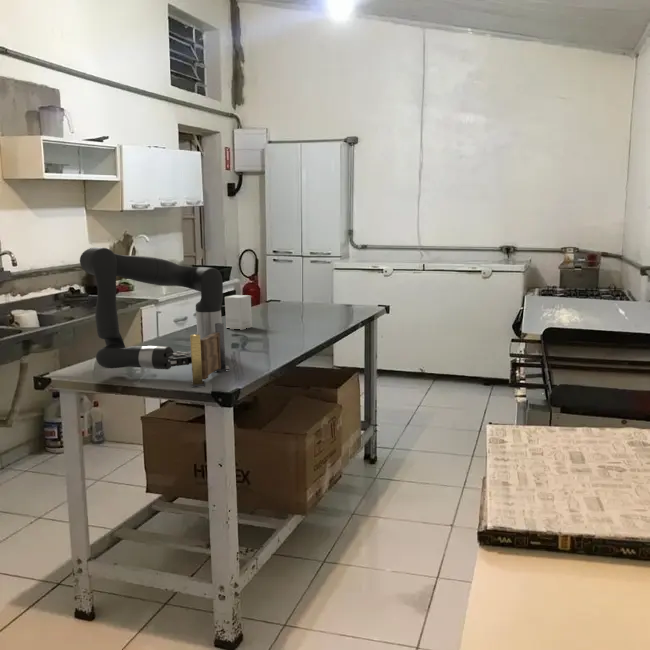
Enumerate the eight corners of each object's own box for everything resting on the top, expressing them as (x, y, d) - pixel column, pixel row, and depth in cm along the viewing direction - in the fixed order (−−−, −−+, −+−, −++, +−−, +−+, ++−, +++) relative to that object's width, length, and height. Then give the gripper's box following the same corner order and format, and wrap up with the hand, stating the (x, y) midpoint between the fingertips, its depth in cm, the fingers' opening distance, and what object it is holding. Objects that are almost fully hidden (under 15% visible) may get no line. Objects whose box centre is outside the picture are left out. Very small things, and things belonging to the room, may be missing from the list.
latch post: (191, 384, 219) (188, 334, 216) (203, 383, 219) (201, 333, 217) (191, 387, 215) (188, 336, 212) (204, 386, 216) (202, 335, 213)
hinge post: (213, 368, 239) (210, 323, 237) (228, 367, 240) (226, 322, 238) (214, 372, 234) (212, 325, 232) (229, 371, 235) (227, 324, 233)
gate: (215, 367, 235) (213, 331, 233) (222, 368, 235) (220, 331, 233) (196, 380, 219) (194, 340, 217) (204, 380, 218) (202, 341, 216)
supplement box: (252, 327, 322) (251, 295, 320) (241, 330, 314) (240, 297, 312) (236, 326, 326) (235, 294, 324) (225, 329, 319) (224, 296, 316)
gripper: (145, 350, 221) (196, 352, 217) (164, 342, 234) (212, 344, 229) (146, 373, 222) (197, 375, 218) (166, 364, 235) (213, 366, 231)
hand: (205, 359), depth 224 cm, fingers closed
